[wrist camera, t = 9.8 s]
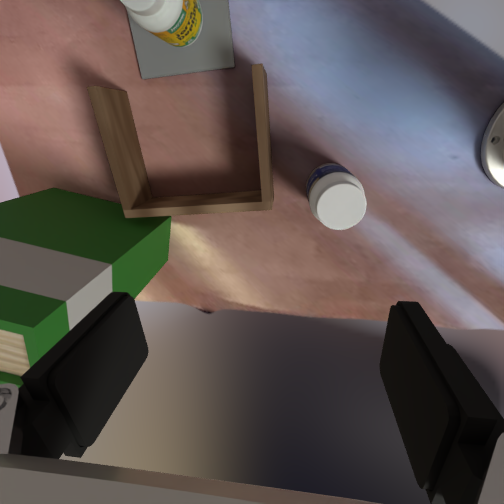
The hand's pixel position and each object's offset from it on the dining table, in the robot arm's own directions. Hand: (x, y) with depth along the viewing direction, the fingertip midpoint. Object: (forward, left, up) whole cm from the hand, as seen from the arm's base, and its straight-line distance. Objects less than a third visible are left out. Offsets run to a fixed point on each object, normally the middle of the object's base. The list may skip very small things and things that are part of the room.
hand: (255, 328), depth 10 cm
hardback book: (+25, +5, -29) cm, 39 cm away
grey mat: (+10, -18, -29) cm, 35 cm away
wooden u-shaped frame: (+10, -5, -29) cm, 31 cm away
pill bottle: (-6, +1, -29) cm, 29 cm away
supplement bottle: (+10, -18, -28) cm, 35 cm away
